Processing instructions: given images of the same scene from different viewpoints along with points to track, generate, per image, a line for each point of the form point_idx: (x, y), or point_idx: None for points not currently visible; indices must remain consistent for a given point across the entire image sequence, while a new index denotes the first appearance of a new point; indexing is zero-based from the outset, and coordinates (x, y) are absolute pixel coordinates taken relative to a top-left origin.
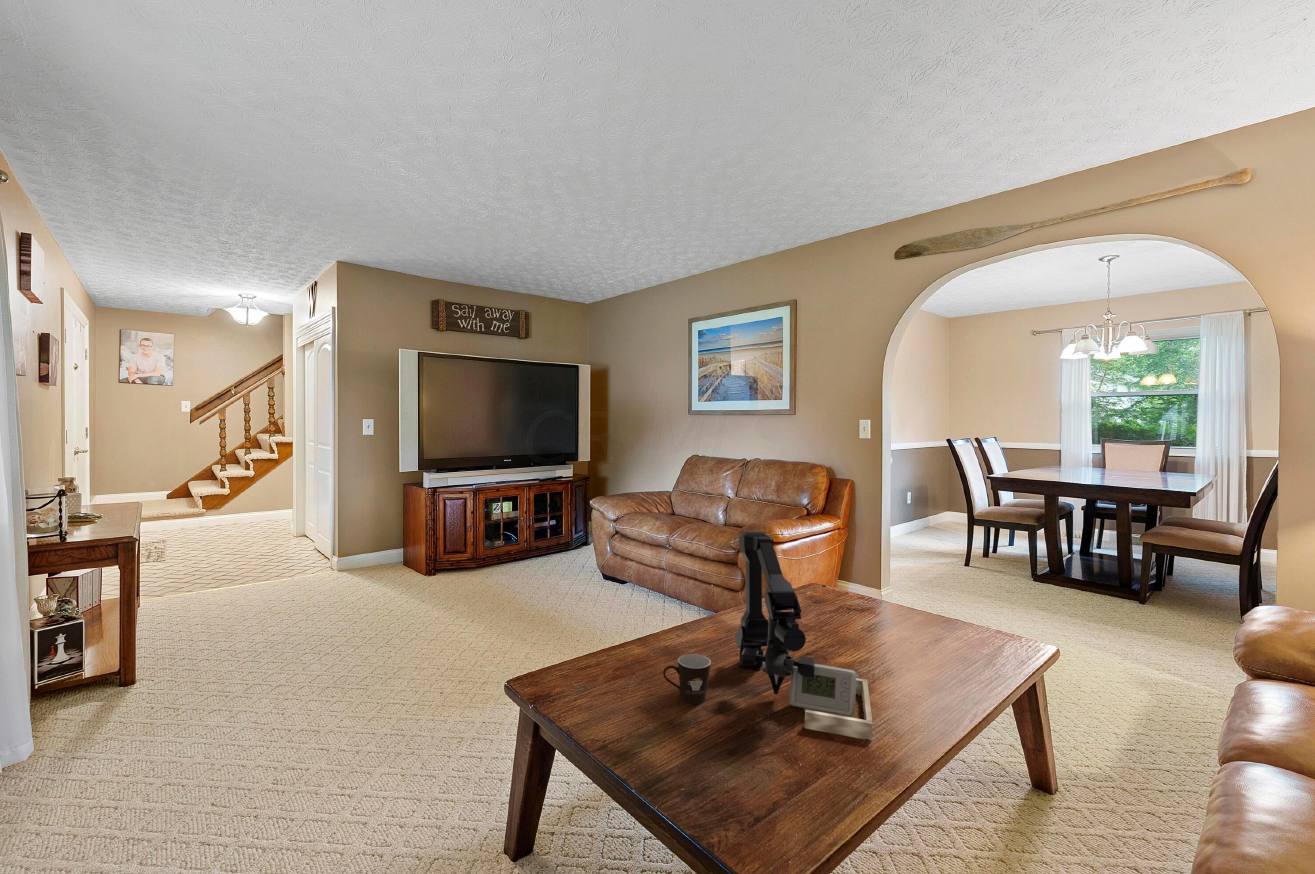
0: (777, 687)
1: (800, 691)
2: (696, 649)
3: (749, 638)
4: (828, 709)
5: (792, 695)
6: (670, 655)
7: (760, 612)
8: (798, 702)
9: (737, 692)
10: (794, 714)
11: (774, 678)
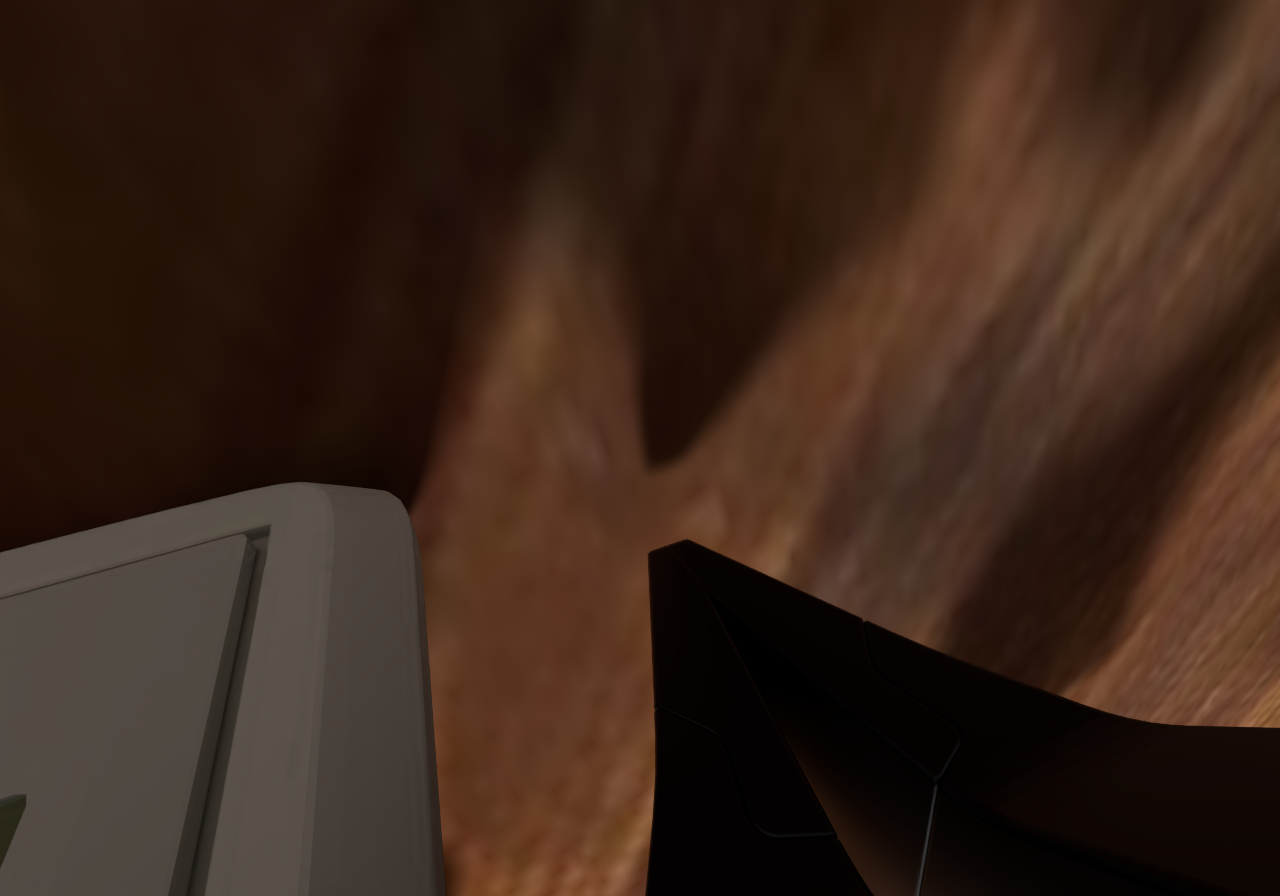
0: (694, 616)
1: (51, 812)
2: (1188, 724)
3: None
4: None
5: (320, 602)
6: None
7: None
8: (183, 546)
9: (1020, 400)
10: (182, 268)
11: (899, 738)
